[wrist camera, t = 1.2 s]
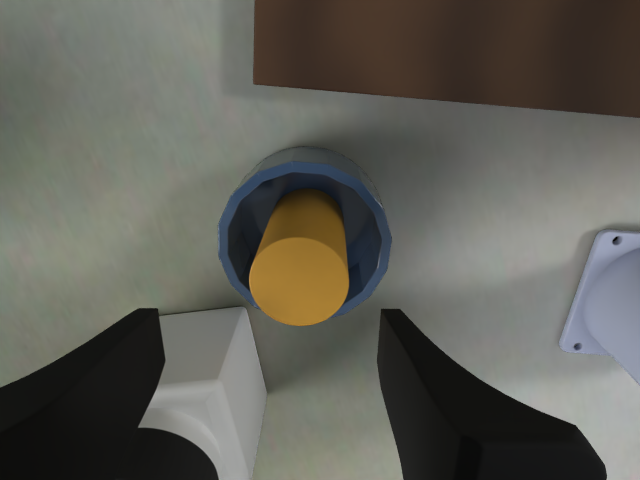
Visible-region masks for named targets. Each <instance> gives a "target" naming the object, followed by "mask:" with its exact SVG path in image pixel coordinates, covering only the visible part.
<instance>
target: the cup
mask: <svg viewBox="0 0 640 480" xmlns="http://www.w3.org/2000/svg"><path fill="white" fill-rule="evenodd" d="M304 188H310V189H316V190H320V191H322V192H324V193H326V194H328V195H329V196H330V197H332V198H333V199H334V200H335V201H336V203H337V204H338V205H339V207H340V209H341V211H342V214H343V218H344V229H345V240H346V252H347V263H348V274H349V289H348V294H347V296H346V299H345V301H344V303H343V304H342V306H341V307H340V308H339V310H338V311H337V312H336V313H334V314H333V315H332V316H331V317H329V318H332V317H336V316H340V315H343V314H346V313H347V312H349V311H350V310H351V309H353V308H354V307H356V306H357V305H359V304H360V303H361V302H363V301H364V300H366V299H367V298H368V297H370V296H371V294H372V293H373V291H374V290H375V288H376V287H377V285H378V283H379V282H380V280H381V279H382V277H383V276H384V274H385V273H386V271H387V268H388V261H389V255H390V249H391V242H392V237H391V233H390V230H389V226H388V223H387V219H386V216H385V212H384V208H383V206H382V203H381V200H380V198H379V195H378V192H377V189H376V187H375V186H374V185H373V184H372V182H371V181H370V179H369V178H368V176H367V175H366V174H365V173H364V171H363V170H362V169H361V168H360V167H359V166H358V165H356V164H355V163H354V162H353V161H351V160H350V159H348V158H347V157H345V156H343V155H341V154H339V153H337V152H334V151H331V150H328V149H325V148H319V147H307V146H302V147H294V148H289V149H285V150H282V151H280V152H277V153H275V154H273V155H271V156H269V157H267V158H265V159H264V160H263V161H262V162H260V163H259V164H258V165H257V166H256V167H255V168H254V169H253V170H252V171H251V172H250V173H248V174H247V175H246V176H245V177H244V179H243V180H242V181H241V183H240V184H239V185H238V187H237V188H236V189H235V191H234V192H233V193H232V195H231V196H230V199H229V201H228V203H227V205H226V208H225V210H224V212H223V214H222V216H221V219H220V221H219V223H218V224H219V225H218V256H219V259H220V261H221V263H222V266H223V268H224V270H225V272H226V275H227V277H228V279H229V281H230V283H231V284H232V286H233V287H234V288H235V289H236V290H237V291H238V292H239V293H240V294H241V295H242V296H243V297H244V298H245V299H246V300H247V301H248V302H249V303H250V304H252V305H253V306H254V307H255V308H258V309H260V310H261V308H260V307H259V306H258V305H257V303H256V302H255V300H254V298H253V296H252V293H251V290H250V285H249V274H250V270H251V266H252V264H253V261H254V259H255V256H256V253H257V251H258V248H259V246H260V243H261V240H262V238H263V235H264V233H265V230H266V227H267V225H268V222H269V220H270V217H271V214H272V212H273V209H274V207H275V205H276V204H277V202H278V201H279V200H280V199H281V198H282V197H283V196H285V195H286V194H288V193H289V192H292V191H294V190H298V189H304Z"/></svg>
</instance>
